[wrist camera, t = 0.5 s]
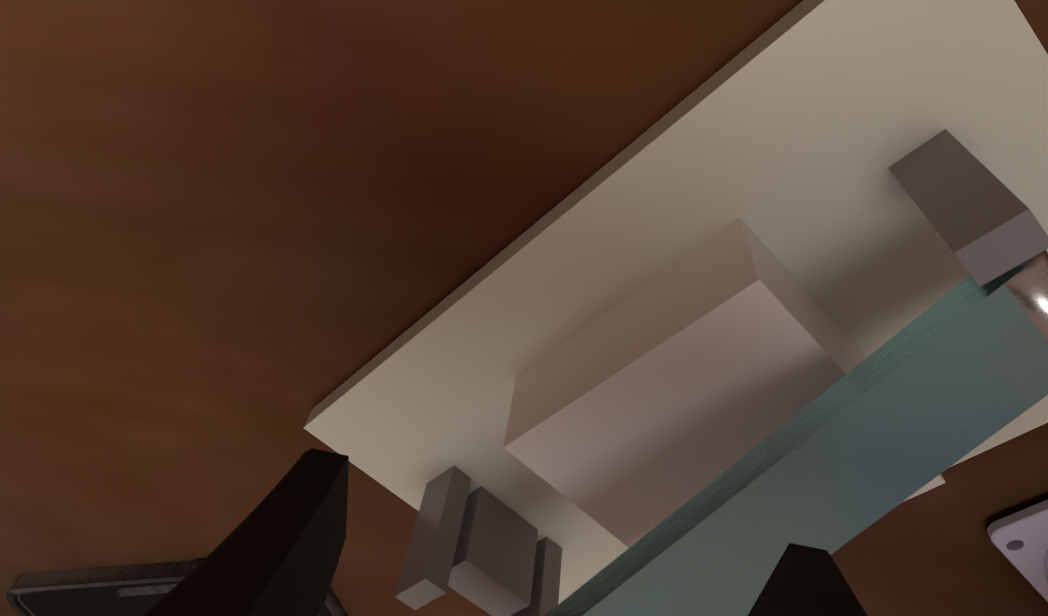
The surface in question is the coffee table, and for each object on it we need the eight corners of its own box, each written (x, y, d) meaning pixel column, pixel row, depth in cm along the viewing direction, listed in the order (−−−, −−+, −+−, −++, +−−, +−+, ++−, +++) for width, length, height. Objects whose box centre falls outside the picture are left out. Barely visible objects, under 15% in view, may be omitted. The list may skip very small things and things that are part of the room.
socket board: (1198, 319, 20) (1368, 466, 15) (588, 610, 30) (583, 750, 25) (932, -108, 15) (1064, -75, 11) (313, 407, 25) (247, 535, 21)
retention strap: (1079, 323, 16) (1126, 347, 15) (509, 752, 20) (512, 796, 19) (1015, 230, 15) (1059, 249, 14) (427, 703, 19) (425, 746, 18)
